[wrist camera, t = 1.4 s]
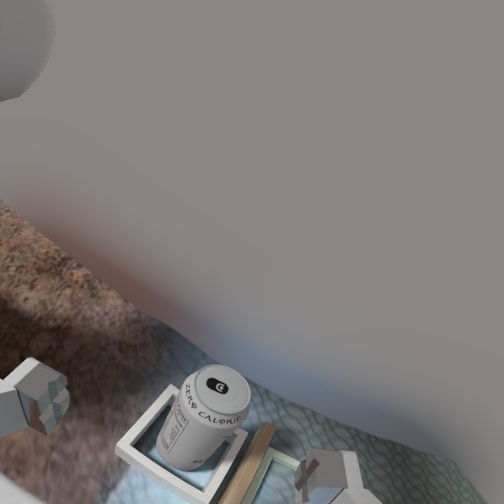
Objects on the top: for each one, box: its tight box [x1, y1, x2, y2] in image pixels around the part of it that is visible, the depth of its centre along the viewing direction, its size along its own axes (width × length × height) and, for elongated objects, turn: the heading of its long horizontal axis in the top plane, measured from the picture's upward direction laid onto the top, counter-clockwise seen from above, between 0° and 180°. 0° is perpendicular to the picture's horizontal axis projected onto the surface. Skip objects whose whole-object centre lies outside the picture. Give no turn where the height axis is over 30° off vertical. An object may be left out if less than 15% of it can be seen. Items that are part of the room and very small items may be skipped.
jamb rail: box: [216, 422, 277, 504], centre depth 28 cm, size 2×16×4 cm, turn 157°
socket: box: [115, 384, 248, 504], centre depth 30 cm, size 11×11×3 cm
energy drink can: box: [156, 364, 251, 470], centre depth 27 cm, size 6×6×15 cm
